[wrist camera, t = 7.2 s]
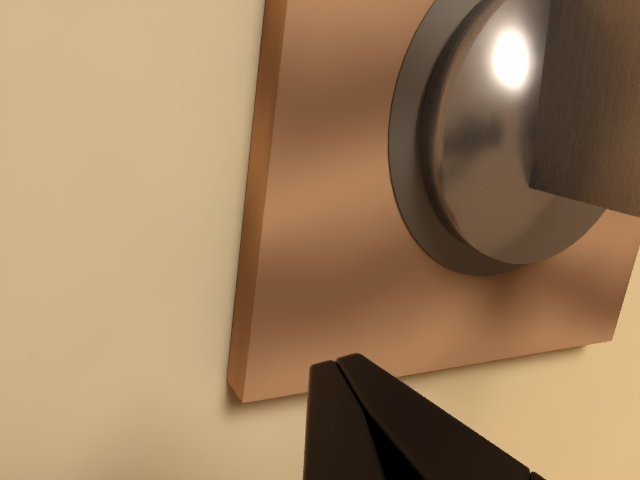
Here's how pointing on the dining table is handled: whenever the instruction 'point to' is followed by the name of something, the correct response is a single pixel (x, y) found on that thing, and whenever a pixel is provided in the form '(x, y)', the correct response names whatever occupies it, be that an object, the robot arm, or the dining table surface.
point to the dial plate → (383, 217)
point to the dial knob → (534, 124)
